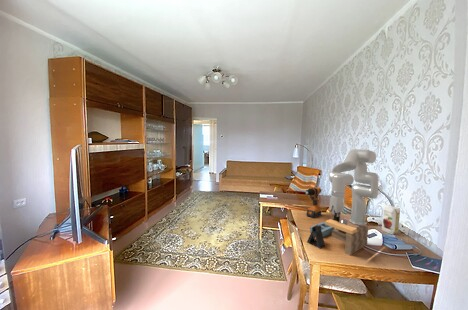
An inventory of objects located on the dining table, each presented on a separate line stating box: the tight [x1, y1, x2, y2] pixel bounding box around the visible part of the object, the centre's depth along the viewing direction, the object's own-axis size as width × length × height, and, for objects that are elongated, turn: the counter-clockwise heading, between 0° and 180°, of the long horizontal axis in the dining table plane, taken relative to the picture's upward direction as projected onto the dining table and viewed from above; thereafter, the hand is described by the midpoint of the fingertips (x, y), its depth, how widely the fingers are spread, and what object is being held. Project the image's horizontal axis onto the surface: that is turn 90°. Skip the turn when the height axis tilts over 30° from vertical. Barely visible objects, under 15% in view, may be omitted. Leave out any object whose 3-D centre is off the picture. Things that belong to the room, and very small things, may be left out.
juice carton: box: [381, 204, 401, 235], centre depth 143 cm, size 8×9×19 cm
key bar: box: [324, 218, 357, 234], centre depth 119 cm, size 6×16×2 cm, turn 35°
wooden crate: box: [331, 224, 369, 256], centre depth 125 cm, size 23×18×13 cm
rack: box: [309, 221, 336, 238], centre depth 139 cm, size 16×9×5 cm, turn 125°
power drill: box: [304, 186, 322, 219], centre depth 171 cm, size 22×7×25 cm, turn 129°
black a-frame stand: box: [306, 224, 326, 249], centre depth 125 cm, size 9×6×12 cm, turn 37°
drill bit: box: [340, 218, 348, 234], centre depth 132 cm, size 4×4×12 cm
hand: (336, 221), depth 126 cm, fingers closed
